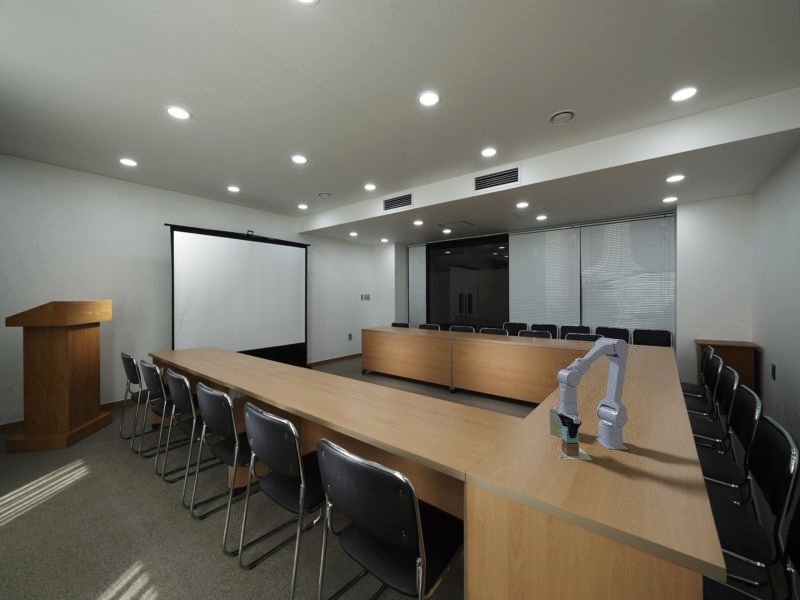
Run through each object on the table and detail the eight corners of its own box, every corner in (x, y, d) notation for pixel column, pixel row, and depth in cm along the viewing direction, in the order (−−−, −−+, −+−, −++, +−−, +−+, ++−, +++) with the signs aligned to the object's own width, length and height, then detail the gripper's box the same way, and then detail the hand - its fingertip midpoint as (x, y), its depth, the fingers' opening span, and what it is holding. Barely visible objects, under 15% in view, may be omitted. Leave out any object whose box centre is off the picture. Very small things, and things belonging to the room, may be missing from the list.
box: (558, 428, 152) (557, 403, 152) (571, 431, 148) (570, 405, 148) (549, 435, 145) (548, 408, 145) (562, 438, 141) (562, 411, 141)
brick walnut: (561, 450, 129) (561, 438, 129) (573, 450, 129) (573, 438, 129) (566, 455, 125) (566, 443, 125) (579, 456, 124) (578, 444, 124)
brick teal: (561, 437, 129) (561, 426, 129) (573, 437, 129) (573, 426, 129) (566, 442, 125) (566, 430, 125) (579, 442, 124) (578, 430, 124)
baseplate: (549, 447, 132) (549, 446, 132) (580, 448, 131) (580, 447, 131) (559, 459, 122) (559, 458, 122) (592, 460, 121) (592, 459, 121)
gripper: (551, 395, 134) (552, 427, 134) (565, 406, 120) (566, 443, 120) (568, 395, 134) (569, 428, 134) (585, 406, 119) (586, 443, 119)
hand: (569, 435), depth 127 cm, fingers closed on brick teal, 4 cm apart
